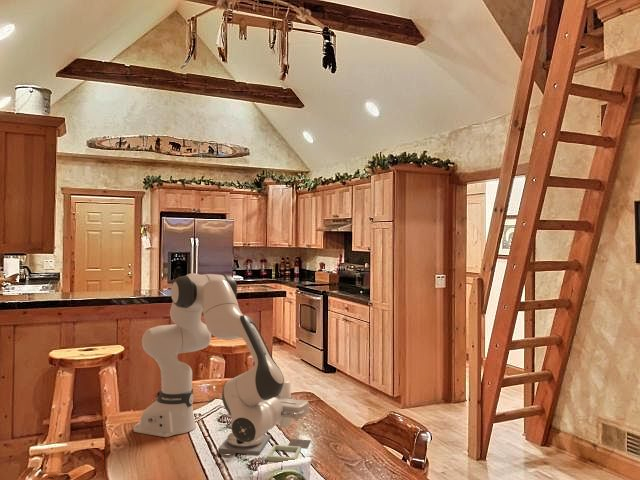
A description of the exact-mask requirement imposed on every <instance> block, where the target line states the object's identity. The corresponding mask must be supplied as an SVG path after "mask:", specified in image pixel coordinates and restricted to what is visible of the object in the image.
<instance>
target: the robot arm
mask: <svg viewBox="0 0 640 480" xmlns="http://www.w3.org/2000/svg"><path fill="white" fill-rule="evenodd" d="M237 295H238V284H237V282H236V280H235V278H234V277H233V276H232V275H229V274H224V273H221V274H215V273H204V274H199V273H195V272H194V273H193V272H192V273H188V274H186V275H183V276H178V277H176V278H175V279H174V280H173V282H172V283H171V289H170V296H171V297H170V298H171V301H172V303H171V306H170V310H169V318H170V320H171V321H172V322H173V324H164V325H163V324H162V325H157V326H153V327H150V328H147V329H146V330H145V332H144V333H143V335H142V338H141V345H142V349H143V351H144V352H145V353H146V354H147V355H149V356H150V357H151V358H153V359H154V360H155V361H156V363H157V365H158V367H159V369H160V377H161V378H160V379H161V388H160V390H159V391H157V393H155V394H154V395H155V396H154V398H156V400H155V401H154V402H153V403H151V405H149V406H147V407H146V408H145V409H144V410H143V411H142V413H141V416H140V421H138V422H137V423H136V424H135V425H134V427H133V430H132V431H133V432H134V433H139V434H145V435H150V436H158V437H163V438H168V437H171V436H175V435H180V434H185V433H189V432H190V431H194V430H195V428H196V427H197V424H196V420H195V417H194V416H195V415H194V409H193V408H194V407H193V404H194V388H193V370H192V368H191V366H190V365H189V364H187V363H185V362H183V361H180V360H179V359H178V355H179V354H186V353H193V352H194V353H196V352H198V351H201V350H204V349H206V348H208V347H209V345H210V343H211V341H212V336H213V337H215V338H218V339H221V340H238V339H242V340H243V341H244V342H245V344H246V347H247V349H248V350H249V353H250V355H251V357H252V360H253V361H254V365H253V367H252V368H250V369H248V370H247V371H245V372H243V373H241V374H238V375H236V376H235V377H233V378H231V379H229V380H227V381H226V382H225V383H224V385H223V388H222V392H221V398H222V400H221V401H222V403H223V406H224V408H225V410H226V412H227V413H228V415H229V416H230V417H231V421H230V422H231V423H230V429H231V433H233V435H234V436H235V437H236V438H237V439H238V440H240V441H243V442H252V441H255V440H257V439H259V438H260V437H262V436H263V435H267V433H268V432H269V431H270V430H272V429H273V428H274V427H276V426H277V425H279V422H280V421H281V419H282V417H285V418H290V419H293V420H294V419H301V418H303V417H305V416H306V415H307V414H309V411H310V403H309V401H308V400H303V399H296V397H295V396H291V397H290V398H289V399H287V398H280V392H281V390H282V388H283V384H284V381H285V378H284V374H283V372H282V371H281V368H280V367H279V366H278V365H277V363H276V361H275V360H274V358H273V356H272V355H271V352H270V350H269V348H268V346H267V344H266V343H265V340H264V338H263V335H262V334H261V332H260V330H259V328H258V327H257V325H256V323H255V321H254V320H253V319H252V318H251V317H250V316H249V315H244V314H243V313H242V311H241V309H240V306H239V303H238V300H237ZM202 314H203V317H204V322H203V321H202Z"/></svg>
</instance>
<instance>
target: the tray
mask: <svg viewBox="0 0 640 480" xmlns="http://www.w3.org/2000/svg"><path fill="white" fill-rule="evenodd" d="M275 451H287V452H288V451H290V452H295V453H294V455H293V456H279V455H274V454H275ZM301 451H302V448H301V447H298V446H288V445H282V444H274V445H272V447H271V449H270V451H269V452H268V453H267V455H266V461H270V462H272V461H273V462H282V461H288V460H295V459H297V460H298V458H299V455H300V454H301Z"/></svg>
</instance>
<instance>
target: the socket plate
mask: <svg viewBox="0 0 640 480" xmlns="http://www.w3.org/2000/svg"><path fill="white" fill-rule="evenodd" d="M311 442H312V439H311V440H309V439H298V438H297V439H296V438H291V439H290V440H289V443H288V445H287V446H298V447H301V449H308V448H309V446H310V444H311Z"/></svg>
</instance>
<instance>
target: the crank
mask: <svg viewBox="0 0 640 480" xmlns="http://www.w3.org/2000/svg"><path fill="white" fill-rule="evenodd" d="M226 439H227V442H228V444H229V445H231V446H233V447H238V448H248V447H254V446H257V445H259V444H261V443H262V442H263V436H262V437H260V438H259V439H257V440H255V441H252V442H243V441H240V440H238V439H237V438H236V437H235V436H234V435H233V433H232V432H230V433H229V434H228V435H227V437H226Z"/></svg>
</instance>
